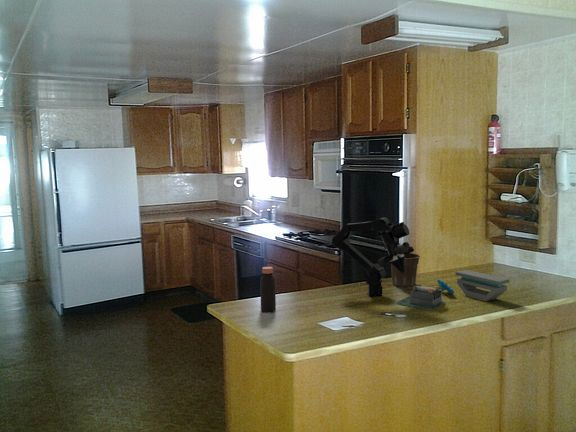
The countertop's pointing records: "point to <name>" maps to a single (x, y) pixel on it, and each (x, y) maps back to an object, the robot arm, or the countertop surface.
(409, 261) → the plant pot
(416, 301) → the heatsink board
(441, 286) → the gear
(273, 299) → the bottle
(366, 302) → the countertop surface
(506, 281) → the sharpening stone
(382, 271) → the robot arm
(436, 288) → the retention strap
